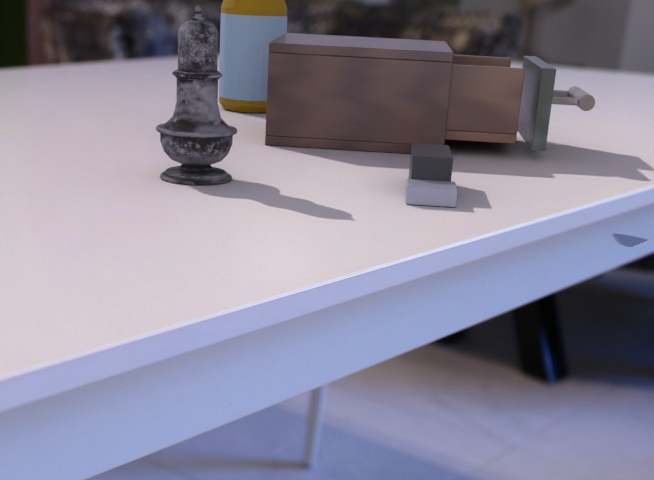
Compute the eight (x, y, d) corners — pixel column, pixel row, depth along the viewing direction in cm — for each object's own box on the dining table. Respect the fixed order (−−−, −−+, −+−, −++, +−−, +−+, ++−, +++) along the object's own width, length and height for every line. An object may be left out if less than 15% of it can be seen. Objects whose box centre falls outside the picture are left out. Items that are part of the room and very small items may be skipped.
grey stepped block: (449, 182, 80) (453, 145, 79) (455, 207, 72) (460, 166, 71) (404, 179, 80) (407, 142, 79) (405, 204, 72) (409, 163, 71)
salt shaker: (230, 170, 80) (235, 4, 76) (241, 186, 75) (246, 8, 71) (153, 169, 79) (153, 1, 75) (158, 185, 74) (158, 4, 70)
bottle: (232, 113, 110) (237, -41, 105) (209, 104, 116) (212, -42, 110) (293, 112, 113) (300, -38, 107) (267, 104, 119) (273, -39, 113)
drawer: (570, 130, 103) (580, 58, 100) (594, 153, 90) (607, 71, 88) (379, 119, 104) (384, 48, 102) (377, 140, 92) (383, 59, 89)
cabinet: (436, 131, 105) (445, 41, 102) (443, 155, 91) (453, 52, 88) (281, 122, 106) (285, 32, 103) (265, 144, 92) (268, 42, 89)
